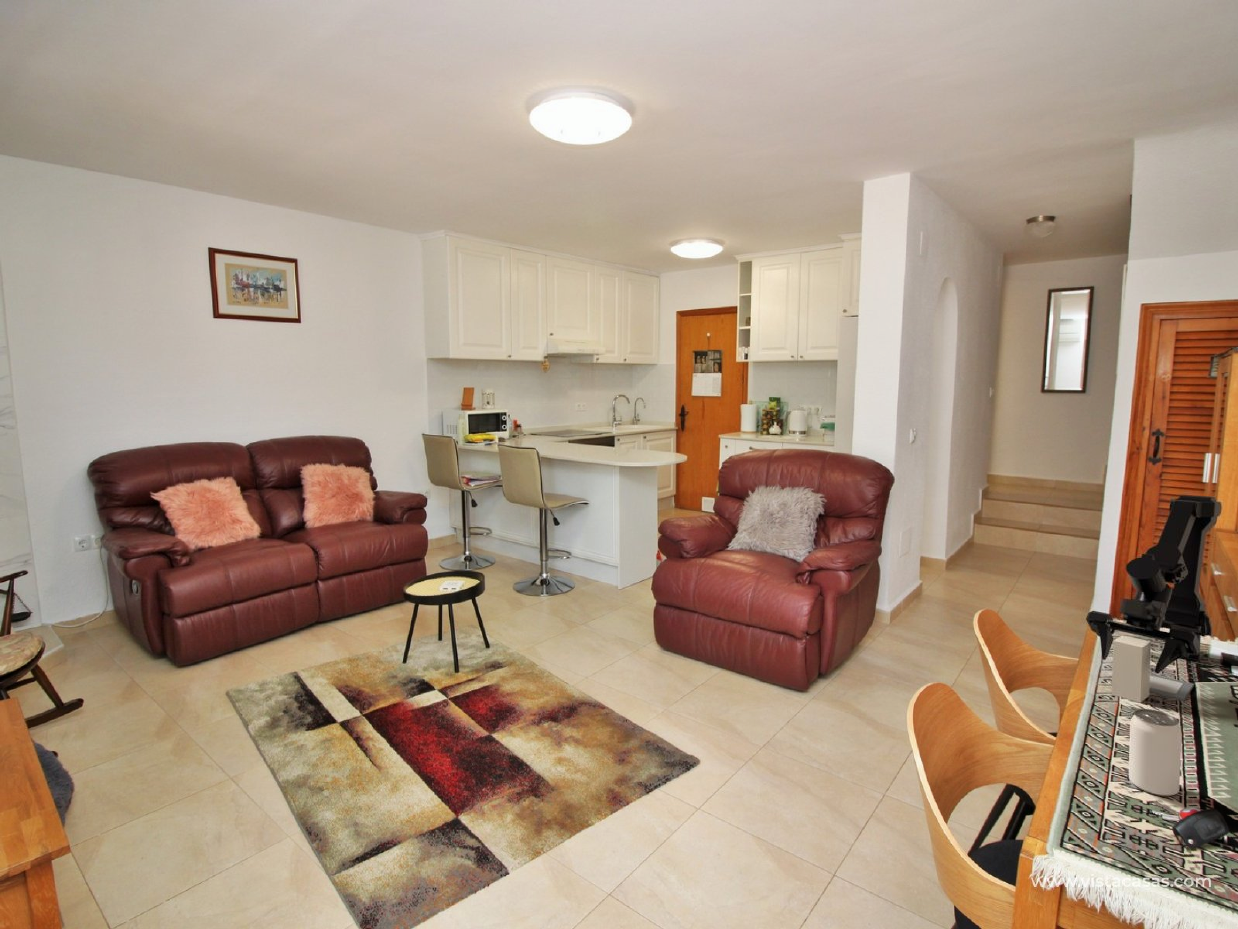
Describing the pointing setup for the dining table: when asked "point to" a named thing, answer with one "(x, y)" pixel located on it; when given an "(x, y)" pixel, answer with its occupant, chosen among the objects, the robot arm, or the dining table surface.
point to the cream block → (1131, 668)
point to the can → (1155, 752)
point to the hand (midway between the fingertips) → (1129, 665)
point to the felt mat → (1169, 687)
